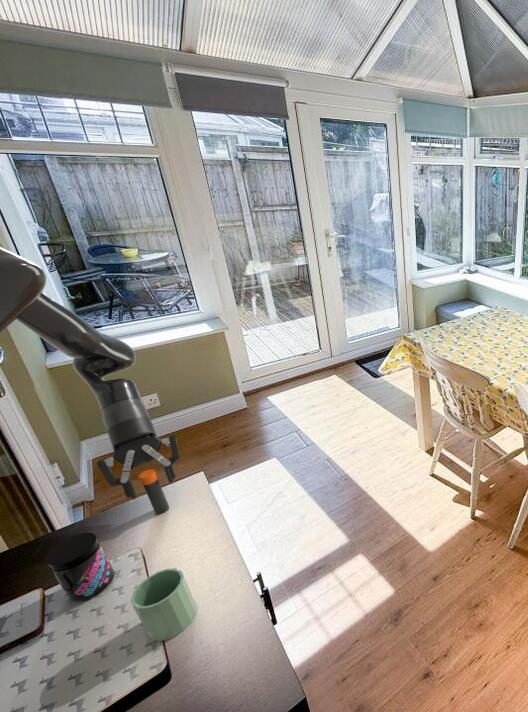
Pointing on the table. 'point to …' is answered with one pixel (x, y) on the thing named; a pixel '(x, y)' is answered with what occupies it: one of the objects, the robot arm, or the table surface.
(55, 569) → the supplement container
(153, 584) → the tumbler
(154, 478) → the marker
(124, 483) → the robot arm
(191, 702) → the table surface
